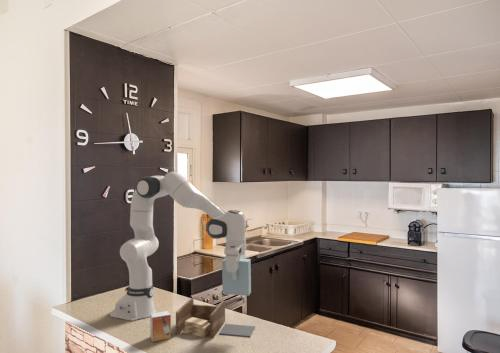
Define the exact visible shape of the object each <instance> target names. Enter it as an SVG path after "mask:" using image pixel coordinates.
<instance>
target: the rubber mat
mask: <svg viewBox="0 0 500 353" xmlns="http://www.w3.org/2000/svg"><path fill="white" fill-rule="evenodd" d="M255 328H256V326H255V325H246V324H245V325H244V324H243V325H242V324H233V323H231V324H230V323H224V324H223V326H222V327H221V330H219V332H218V335H223V336H234V337H244V338H251V336H252V334H253V332H254V330H255Z"/></svg>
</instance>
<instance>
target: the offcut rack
mask: <svg viewBox="0 0 500 353" xmlns="http://www.w3.org/2000/svg"><path fill="white" fill-rule="evenodd" d="M191 317H194V318H199V319H203V320H207V321H208V322H209V323H210V329H211V332H210V339H214V338H215V336H216V335H217V334H218V333H219V332H220V329H222V327H223V326H224V325H225V322H226V300H224V299H223V300H221V302H219V304H218V305H210V304H209V305H207V304H194V298H193V297H191V298H190V299H188V300H187V301H186V302H185V303H184V304H183V305H182V306H181V307H179V309H177V310H176V312H175V335H176V336H179V335H180V334H181V333H183V329H184V328H185V321H186V320H187V319H189V318H191Z"/></svg>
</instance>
